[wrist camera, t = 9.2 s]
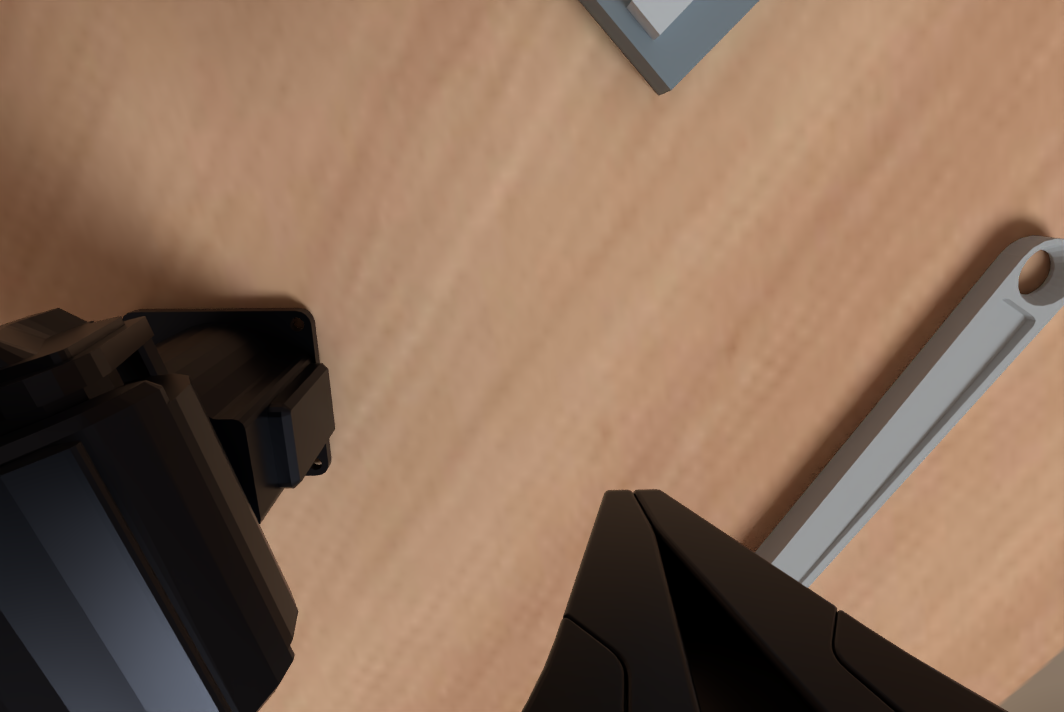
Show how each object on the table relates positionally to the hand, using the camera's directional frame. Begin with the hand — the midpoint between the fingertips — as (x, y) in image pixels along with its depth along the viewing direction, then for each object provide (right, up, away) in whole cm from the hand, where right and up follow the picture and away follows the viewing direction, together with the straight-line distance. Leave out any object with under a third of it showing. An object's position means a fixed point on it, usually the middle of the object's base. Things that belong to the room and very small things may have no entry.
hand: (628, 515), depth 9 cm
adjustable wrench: (+11, -4, +16) cm, 20 cm away
